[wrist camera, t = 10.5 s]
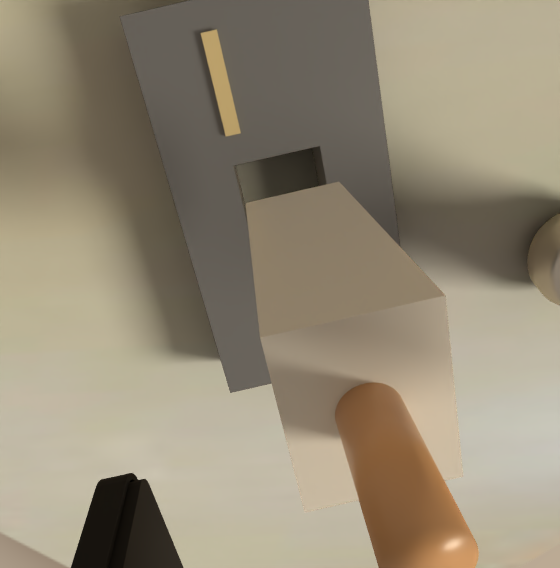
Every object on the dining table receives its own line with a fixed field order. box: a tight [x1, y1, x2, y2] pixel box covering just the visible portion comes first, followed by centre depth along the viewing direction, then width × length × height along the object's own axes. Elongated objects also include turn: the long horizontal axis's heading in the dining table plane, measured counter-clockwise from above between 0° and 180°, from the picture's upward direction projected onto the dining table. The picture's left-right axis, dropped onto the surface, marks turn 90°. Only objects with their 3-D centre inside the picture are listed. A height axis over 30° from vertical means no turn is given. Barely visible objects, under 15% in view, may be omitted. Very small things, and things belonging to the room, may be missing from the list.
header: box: [120, 0, 400, 393], centre depth 32 cm, size 22×12×4 cm, turn 12°
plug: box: [246, 182, 478, 568], centre depth 16 cm, size 5×4×16 cm
